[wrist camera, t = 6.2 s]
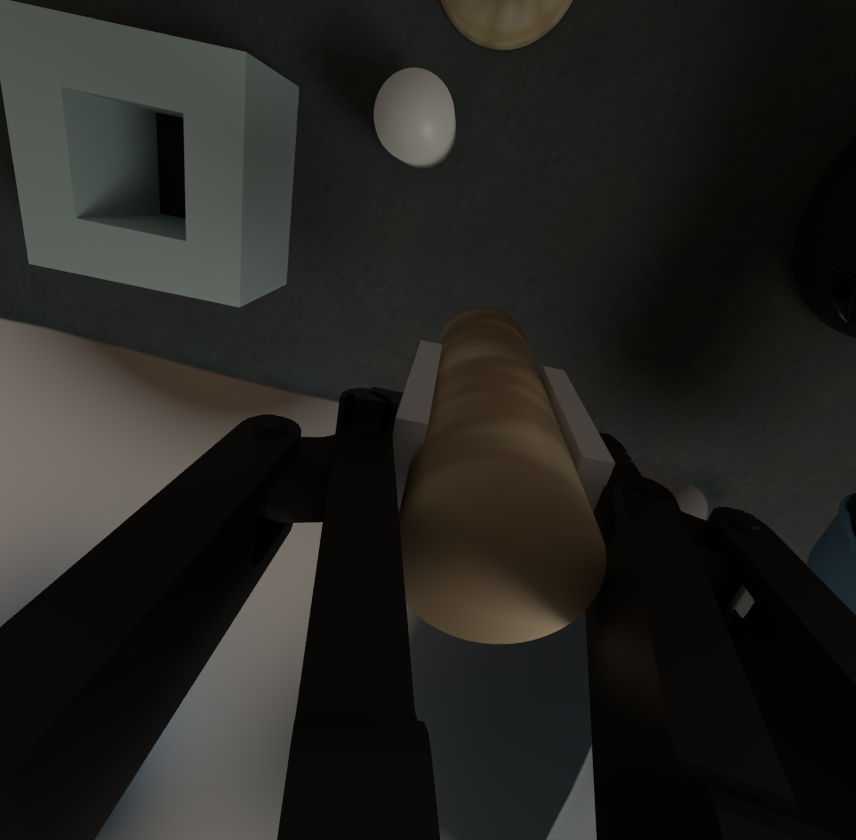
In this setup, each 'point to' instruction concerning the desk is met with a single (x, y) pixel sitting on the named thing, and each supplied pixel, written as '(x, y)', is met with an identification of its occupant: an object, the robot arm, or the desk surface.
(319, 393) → the desk surface
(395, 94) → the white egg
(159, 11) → the desk surface
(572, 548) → the long pin
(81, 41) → the hole block
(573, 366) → the desk surface
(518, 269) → the desk surface
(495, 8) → the hand bell
